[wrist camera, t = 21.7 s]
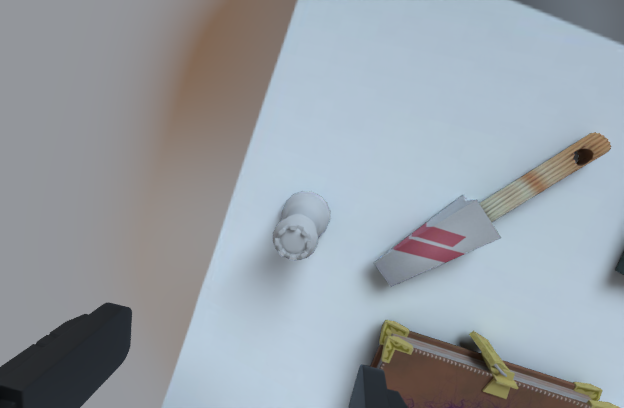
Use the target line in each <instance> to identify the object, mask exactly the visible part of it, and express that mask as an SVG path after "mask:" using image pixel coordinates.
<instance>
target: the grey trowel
mask: <svg viewBox="0 0 624 408" xmlns="http://www.w3.org/2000/svg"><path fill="white" fill-rule="evenodd" d="M610 147H611V145H610V142H609V141H608V139H607V138H605V137H604V136H603V135H601V134H600V133H598V134H597V133H596V132H595V133H590V134H589V135H587V136H585V137H584V138H582V139H581V140H579V141H578V142H576V143H575V144H573V145H571V146H570V147H568V148H567V149H565V150H564V151H562V152H560V153H559V154H557V155H556V156H554V157H553V158H551V159H549V160H548V161H546V162H545V163H543V164H541V165H540V166H538V167H537V168H535V169H533V170H532V171H530V172H529V173H527V174H525V175H524V176H522V177H521V178H519V179H517V180H516V181H514V182H513V183H511V184H509V185H508V186H506V187H505V188H503V189H502V190H500V191H498V192H497V193H495V194H494V195H492V196H490V197H489V198H487V199H486V200H484V201H483V202H481V203H479V202H478V201H477V200H469V201H467V199H466V198H465V196H464V194H463V195H462V196H460V197H459V198H458V199H457V200H455V201H454V202H453V203H451V204H450V205H449V206H447V207H446V208H445V209H443V210H442V211H441V212H439V213H438V214H437V215H436V216H434V217H433V218H432V219H430V220H429V221H428V222H426V223H425V224H424V225H422V226H421V227H420V228H418V229H417V230H416V231H415V232H413V233H412V234H411V235H409V236H408V237H407V238H405V239H404V240H403V241H401V242H400V243H399V244H397V245H396V246H395V247H394V248H392V249H391V250H390V251H388V252H387V253H386V254H384V255H383V256H382V257H380V258H379V259H378V260H376V261H375V262H374V264H375V266H376V267H377V269H378V270H379V271H380V273H381V274H382V275H383V277H384V278H385V280H386V281H387V282H388V284H389V285H390V286H391V287H392V286H394V285H396V284H398V283H401V282H403V281H405V280H407V279H410V278H412V277H414V276H416V275H419V274H421V273H423V272H425V271H428V270H430V269H432V268H434V267H437V266H439V265H441V264H443V263H446V262H448V261H450V260H452V259H455V258H457V257H459V256H461V255H464V254H466V253H468V252H470V251H473V250H475V249H477V248H479V247H482V246H484V245H486V244H488V243H491V242H493V241H495V240H497V239H500V238H501V236H500V235H499V233H498V232H497V230H496V229H495V227H494V226H493V224H492V222H493V221H494V220H496V219H497V218H499V217H501V216H502V215H504V214H506V213H507V212H509V211H511V210H512V209H514V208H516V207H517V206H519V205H521V204H522V203H524V202H526V201H527V200H529V199H530V198H532V197H534V196H535V195H537V194H539V193H540V192H542V191H544V190H545V189H547V188H549V187H550V186H552V185H553V184H555V183H557V182H558V181H560V180H562V179H563V178H565V177H567V176H568V175H570V174H572V173H573V172H575V171H577V170H578V169H580V168H582V167H583V166H585V165H587V164H588V163H590V162H592V161H594V160H595V159H597V158H599V157H600V156H602V155H604V154H605V153H607V152H608V151H609V150H610V149H611V148H610ZM575 151H577V154H578V155H579V156H578V161H577V163H575V160H574V159H573V158H574V155H575V154H574V152H575Z"/></svg>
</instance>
